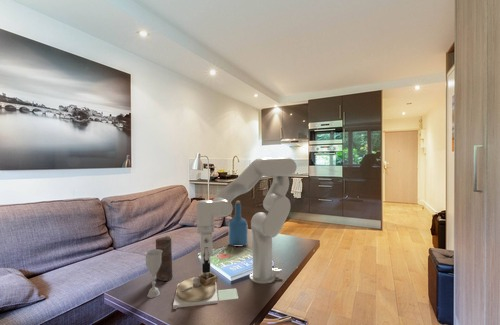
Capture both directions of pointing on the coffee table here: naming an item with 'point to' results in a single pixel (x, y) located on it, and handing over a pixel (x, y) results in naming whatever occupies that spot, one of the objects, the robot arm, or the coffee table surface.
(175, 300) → the dial base
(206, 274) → the small glass bottle
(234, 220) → the wine bottle
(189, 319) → the coffee table surface
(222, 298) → the pad
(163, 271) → the candle
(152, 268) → the chalice
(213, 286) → the dial
